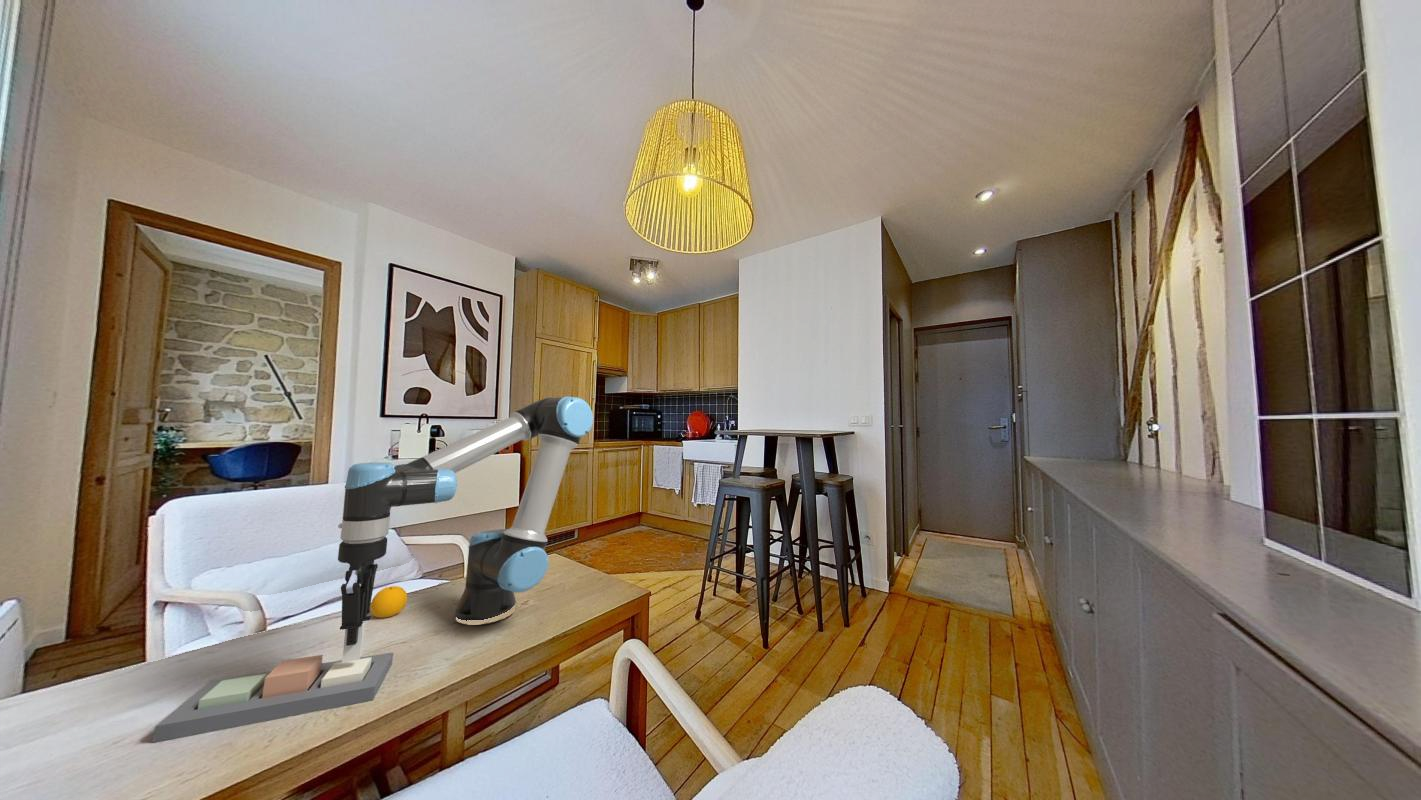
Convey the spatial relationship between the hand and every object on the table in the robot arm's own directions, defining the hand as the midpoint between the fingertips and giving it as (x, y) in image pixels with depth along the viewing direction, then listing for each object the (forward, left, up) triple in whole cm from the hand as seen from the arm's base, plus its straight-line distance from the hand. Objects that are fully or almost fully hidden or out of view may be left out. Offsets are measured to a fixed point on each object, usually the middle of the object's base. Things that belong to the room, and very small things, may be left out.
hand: (352, 658), depth 80 cm
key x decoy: (+8, 0, -3) cm, 9 cm away
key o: (+16, 0, -5) cm, 17 cm away
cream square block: (0, 0, -5) cm, 5 cm away
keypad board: (+8, 0, -5) cm, 10 cm away
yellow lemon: (+2, -35, -6) cm, 35 cm away
